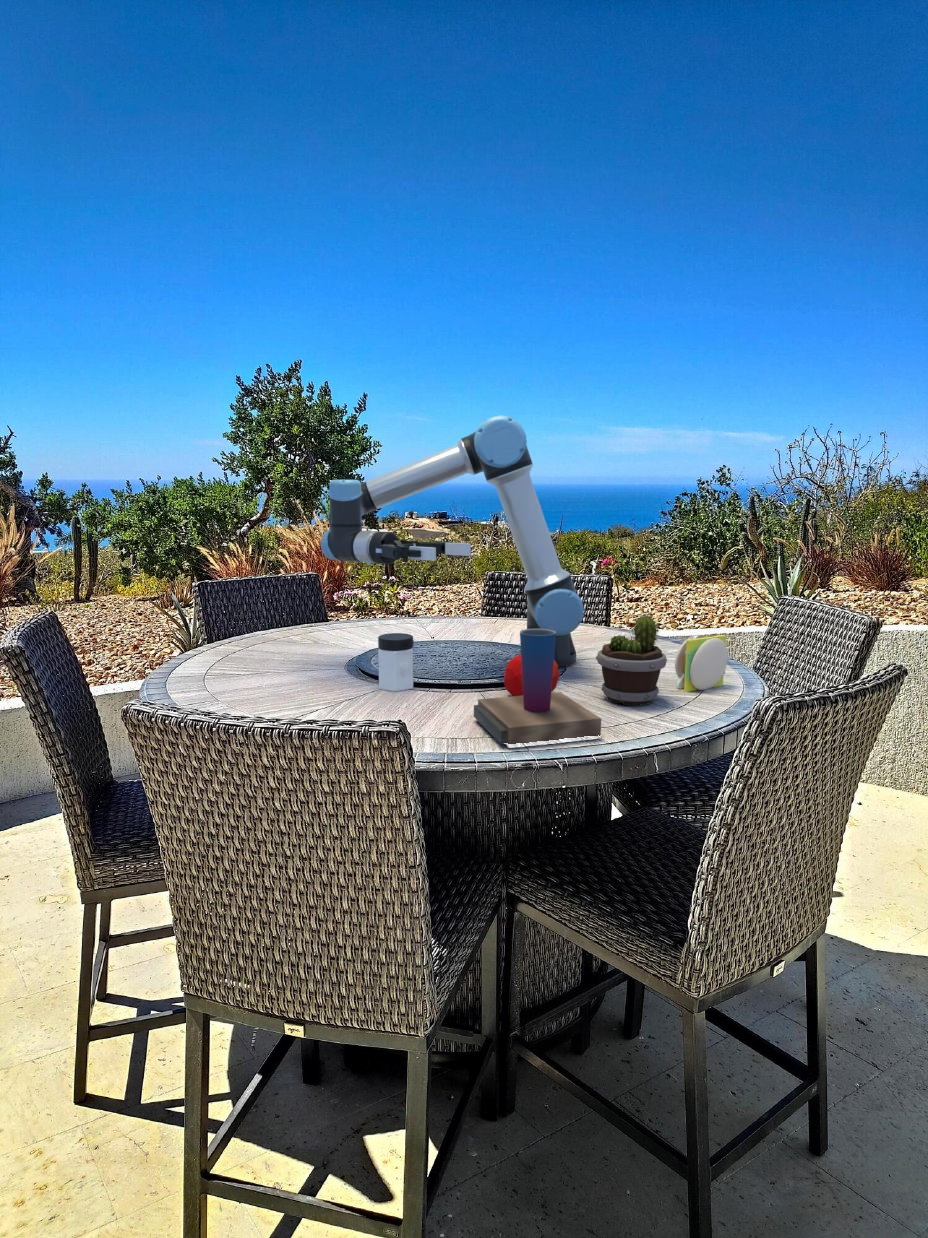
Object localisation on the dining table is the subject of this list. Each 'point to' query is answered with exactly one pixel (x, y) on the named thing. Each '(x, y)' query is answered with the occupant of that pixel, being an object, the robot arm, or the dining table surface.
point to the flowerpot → (632, 665)
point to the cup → (537, 668)
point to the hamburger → (701, 662)
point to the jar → (395, 661)
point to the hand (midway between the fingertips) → (453, 551)
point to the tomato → (515, 676)
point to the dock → (536, 720)
